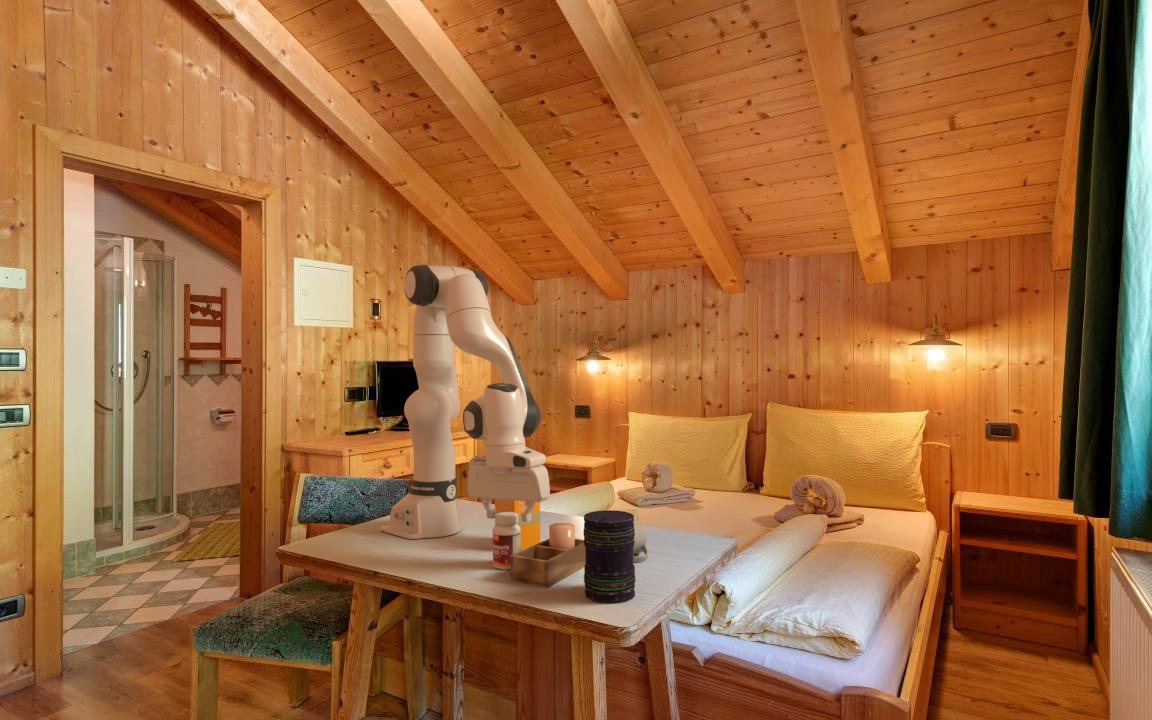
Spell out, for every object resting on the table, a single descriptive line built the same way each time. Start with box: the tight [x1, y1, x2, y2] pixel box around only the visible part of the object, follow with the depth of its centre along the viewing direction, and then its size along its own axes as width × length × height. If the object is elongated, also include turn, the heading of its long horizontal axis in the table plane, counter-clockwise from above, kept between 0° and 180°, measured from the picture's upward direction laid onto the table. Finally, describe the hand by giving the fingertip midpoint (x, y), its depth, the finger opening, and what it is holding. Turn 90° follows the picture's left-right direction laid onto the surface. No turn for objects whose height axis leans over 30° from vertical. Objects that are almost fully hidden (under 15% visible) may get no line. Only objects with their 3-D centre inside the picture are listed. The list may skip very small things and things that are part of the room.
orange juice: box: [494, 499, 541, 551], centre depth 153 cm, size 8×9×20 cm
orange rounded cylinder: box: [548, 522, 576, 550], centre depth 137 cm, size 6×6×8 cm
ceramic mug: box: [633, 519, 649, 563], centre depth 143 cm, size 11×8×8 cm
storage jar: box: [583, 509, 636, 605], centre depth 119 cm, size 10×10×15 cm
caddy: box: [509, 538, 586, 588], centre depth 133 cm, size 9×18×5 cm, turn 150°
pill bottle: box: [492, 512, 521, 570], centre depth 137 cm, size 6×6×11 cm
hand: (508, 519), depth 137 cm, fingers open, 8 cm apart
